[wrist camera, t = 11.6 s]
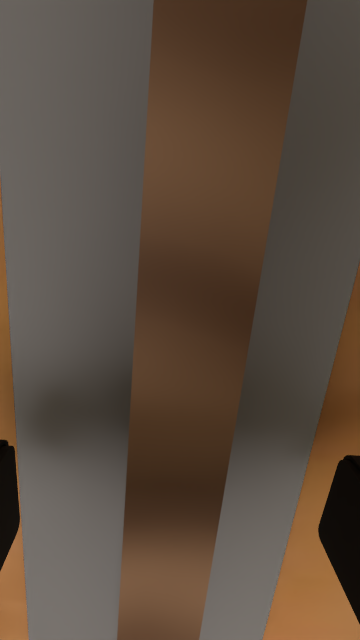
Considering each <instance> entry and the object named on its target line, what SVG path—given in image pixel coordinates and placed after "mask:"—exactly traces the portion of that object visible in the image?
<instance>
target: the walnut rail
mask: <svg viewBox="0 0 360 640" xmlns="http://www.w3.org/2000/svg"><path fill="white" fill-rule="evenodd" d="M306 6H307V0H154V3H153V20H152V38H151V55H150V73H149V90H148V107H147V125H146V142H145V160H144V177H143V195H142V212H141V230H140V247H139V265H138V282H137V300H136V317H135V335H134V352H133V370H132V387H131V404H130V422H129V439H128V457H127V474H126V492H125V509H124V527H123V544H122V562H121V579H120V597H119V614H118V632H117V640H199V637H200V632H201V626H202V620H203V614H204V608H205V602H206V596H207V590H208V584H209V578H210V573H211V567H212V561H213V555H214V549H215V543H216V537H217V531H218V525H219V519H220V513H221V508H222V502H223V496H224V490H225V484H226V478H227V472H228V466H229V460H230V454H231V449H232V443H233V437H234V431H235V425H236V419H237V413H238V407H239V401H240V395H241V389H242V384H243V378H244V372H245V366H246V360H247V354H248V348H249V342H250V336H251V330H252V325H253V319H254V313H255V307H256V301H257V295H258V289H259V283H260V277H261V271H262V265H263V260H264V254H265V248H266V242H267V236H268V230H269V224H270V218H271V212H272V206H273V201H274V195H275V189H276V183H277V177H278V171H279V165H280V159H281V153H282V147H283V141H284V136H285V130H286V124H287V118H288V112H289V106H290V100H291V94H292V88H293V82H294V77H295V71H296V65H297V59H298V53H299V47H300V41H301V35H302V29H303V23H304V17H305V12H306Z"/></svg>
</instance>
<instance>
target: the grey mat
mask: <svg viewBox="0 0 360 640" xmlns="http://www.w3.org/2000/svg"><path fill="white" fill-rule="evenodd" d="M153 3H154V0H0V177H1V194H2V210H3V226H4V242H5V259H6V275H7V291H8V308H9V324H10V340H11V356H12V373H13V389H14V405H15V421H16V438H17V454H18V470H19V486H20V503H21V519H22V535H23V552H24V568H25V584H26V600H27V617H28V633H29V640H117V632H118V614H119V597H120V579H121V562H122V544H123V527H124V509H125V492H126V474H127V457H128V439H129V422H130V404H131V387H132V370H133V352H134V335H135V317H136V300H137V282H138V265H139V247H140V230H141V212H142V195H143V177H144V160H145V142H146V125H147V107H148V90H149V73H150V55H151V38H152V20H153ZM359 262H360V0H307V6H306V12H305V17H304V23H303V29H302V35H301V41H300V47H299V53H298V59H297V65H296V71H295V77H294V82H293V88H292V94H291V100H290V106H289V112H288V118H287V124H286V130H285V136H284V141H283V147H282V153H281V159H280V165H279V171H278V177H277V183H276V189H275V195H274V201H273V206H272V212H271V218H270V224H269V230H268V236H267V242H266V248H265V254H264V260H263V265H262V271H261V277H260V283H259V289H258V295H257V301H256V307H255V313H254V319H253V325H252V330H251V336H250V342H249V348H248V354H247V360H246V366H245V372H244V378H243V384H242V389H241V395H240V401H239V407H238V413H237V419H236V425H235V431H234V437H233V443H232V449H231V454H230V460H229V466H228V472H227V478H226V484H225V490H224V496H223V502H222V508H221V513H220V519H219V525H218V531H217V537H216V543H215V549H214V555H213V561H212V567H211V573H210V578H209V584H208V590H207V596H206V602H205V608H204V614H203V620H202V626H201V632H200V637H199V640H262V639H263V635H264V631H265V627H266V624H267V620H268V616H269V612H270V608H271V604H272V600H273V596H274V592H275V589H276V585H277V581H278V577H279V573H280V569H281V565H282V561H283V557H284V554H285V550H286V546H287V542H288V538H289V534H290V530H291V526H292V522H293V519H294V515H295V511H296V507H297V503H298V499H299V495H300V491H301V487H302V484H303V480H304V476H305V472H306V468H307V464H308V460H309V456H310V452H311V449H312V445H313V441H314V437H315V433H316V429H317V425H318V421H319V417H320V414H321V410H322V406H323V402H324V398H325V394H326V390H327V386H328V383H329V379H330V375H331V371H332V367H333V363H334V359H335V355H336V351H337V348H338V344H339V340H340V336H341V332H342V328H343V324H344V320H345V316H346V313H347V309H348V305H349V301H350V297H351V293H352V289H353V285H354V281H355V278H356V274H357V270H358V266H359Z"/></svg>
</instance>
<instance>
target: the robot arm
mask: <svg viewBox="0 0 360 640" xmlns="http://www.w3.org/2000/svg"><path fill="white" fill-rule="evenodd" d="M19 523H20V514H19V501H18V488H17V475H16V462H15V450H14V447H13V446H9V445H8V442H7V440H0V571H1V568H2V566H3V564H4V561H5V559H6V557H7V555H8V552H9V550H10V548H11V545H12V543H13V541H14V539H15V536H16V534H17V531H18V528H19ZM318 532H319V537H320V540H321V543H322V545H323V547H324V549H325V551H326V553H327V555H328V558H329V560H330V562H331V564H332V566H333V568H334V570H335V573H336V575H337V577H338V579H339V581H340V583H341V585H342V587H343V590H344V592H345V594H346V596H347V598H348V600H349V602H350V605H351V607H352V609H353V611H354V613H355V615H356V617H357V619H358V622H359V624H360V456H354V455H347V456H345V457H344V459H343V460H341V461H339V463H338V466H337V469H336V472H335V475H334V479H333V482H332V485H331V488H330V491H329V495H328V498H327V501H326V504H325V508H324V511H323V514H322V517H321V520H320V524H319V528H318Z"/></svg>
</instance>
